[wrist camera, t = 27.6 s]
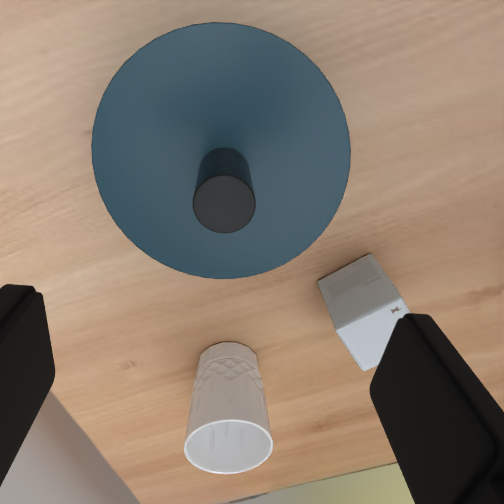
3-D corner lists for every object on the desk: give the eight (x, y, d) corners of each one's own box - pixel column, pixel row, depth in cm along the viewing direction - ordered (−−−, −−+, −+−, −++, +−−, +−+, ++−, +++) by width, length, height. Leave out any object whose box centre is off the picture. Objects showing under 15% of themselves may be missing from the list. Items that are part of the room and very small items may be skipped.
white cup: (251, 392, 44) (257, 478, 35) (185, 381, 42) (175, 469, 33) (272, 344, 40) (285, 426, 31) (201, 330, 38) (195, 414, 30)
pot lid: (207, -55, 19) (200, -101, 13) (393, 158, 25) (446, 192, 19) (48, 176, 24) (-9, 219, 18) (234, 305, 30) (237, 367, 24)
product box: (314, 280, 36) (333, 329, 30) (371, 250, 35) (404, 296, 29) (340, 319, 39) (362, 373, 33) (393, 293, 38) (427, 344, 31)
